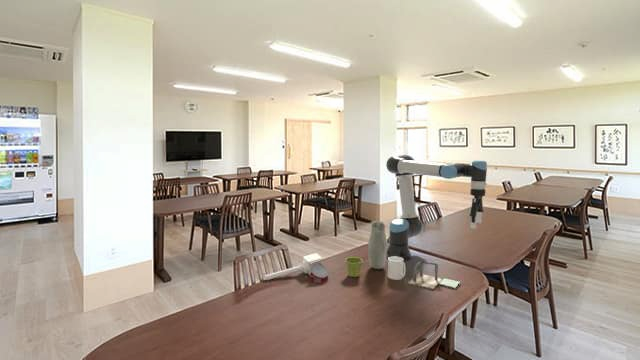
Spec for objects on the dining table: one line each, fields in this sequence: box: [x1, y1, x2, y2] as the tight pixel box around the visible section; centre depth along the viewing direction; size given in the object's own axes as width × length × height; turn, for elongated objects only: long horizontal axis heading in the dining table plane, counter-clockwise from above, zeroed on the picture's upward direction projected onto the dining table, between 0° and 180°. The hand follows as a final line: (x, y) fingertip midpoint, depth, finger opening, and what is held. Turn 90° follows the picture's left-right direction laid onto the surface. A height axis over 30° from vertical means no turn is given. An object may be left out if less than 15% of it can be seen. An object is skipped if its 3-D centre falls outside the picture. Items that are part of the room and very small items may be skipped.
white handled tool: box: [264, 252, 323, 281], centre depth 187 cm, size 9×9×32 cm
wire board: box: [407, 272, 443, 290], centre depth 177 cm, size 13×14×1 cm
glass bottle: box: [367, 220, 388, 270], centre depth 195 cm, size 10×10×28 cm
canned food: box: [309, 261, 329, 284], centre depth 181 cm, size 11×10×10 cm
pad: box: [439, 278, 461, 289], centre depth 173 cm, size 8×8×1 cm
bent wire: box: [412, 260, 439, 282], centre depth 176 cm, size 9×10×8 cm
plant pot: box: [345, 256, 363, 278], centre depth 186 cm, size 9×9×9 cm
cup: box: [387, 256, 407, 281], centre depth 182 cm, size 8×12×10 cm
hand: (475, 225), depth 191 cm, fingers open, 13 cm apart
